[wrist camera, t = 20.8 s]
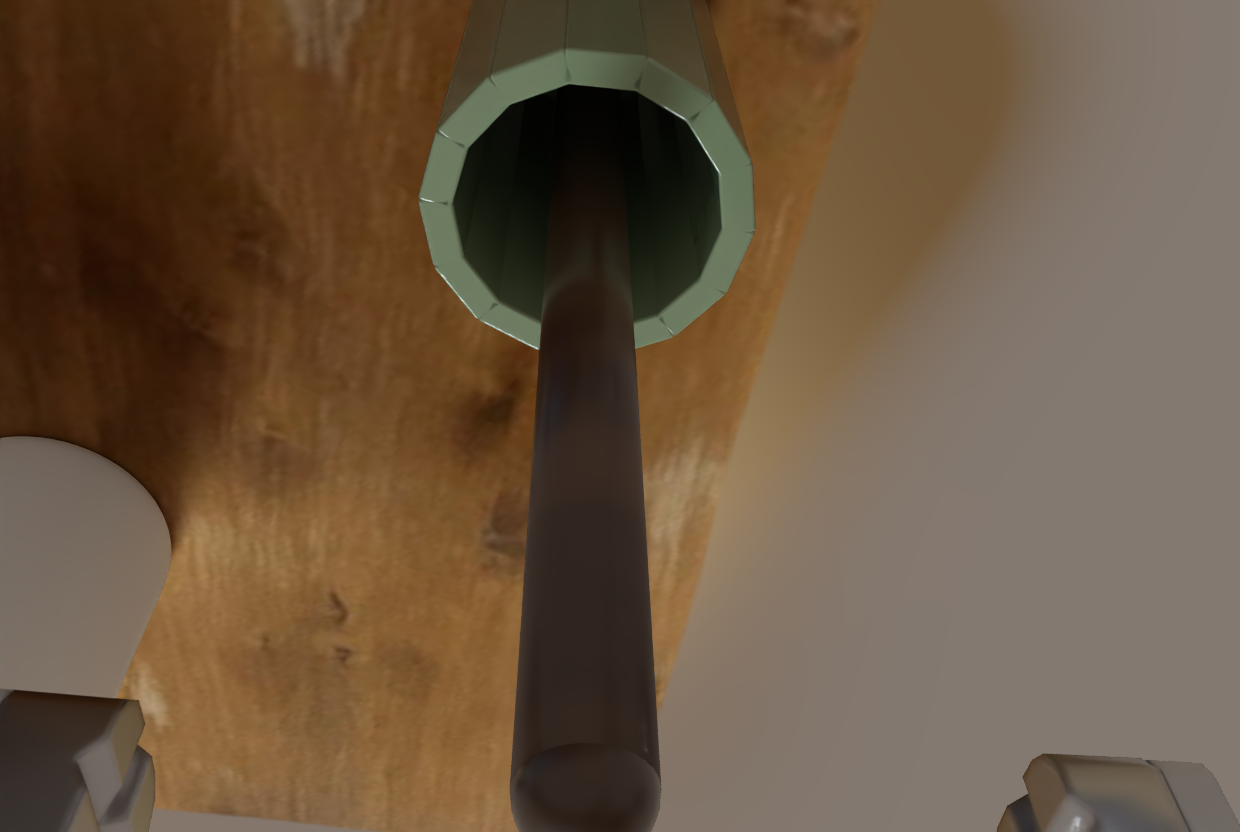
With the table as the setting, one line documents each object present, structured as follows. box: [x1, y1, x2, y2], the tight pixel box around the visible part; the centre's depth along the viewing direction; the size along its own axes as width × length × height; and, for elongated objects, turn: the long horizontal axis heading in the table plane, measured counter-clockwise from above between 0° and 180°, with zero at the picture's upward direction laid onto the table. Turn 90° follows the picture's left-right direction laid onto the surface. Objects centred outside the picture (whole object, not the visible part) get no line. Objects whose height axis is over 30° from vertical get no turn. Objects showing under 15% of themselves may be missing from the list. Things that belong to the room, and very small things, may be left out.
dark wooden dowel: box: [510, 84, 661, 832], centre depth 19 cm, size 2×1×24 cm, turn 174°
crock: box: [418, 0, 755, 350], centre depth 25 cm, size 6×6×12 cm
